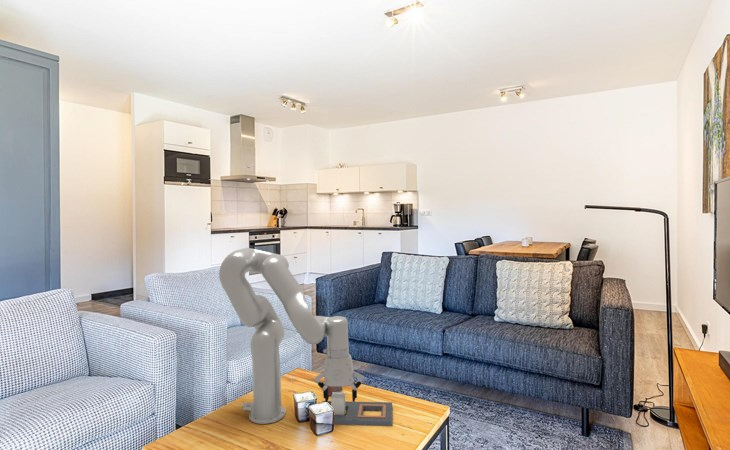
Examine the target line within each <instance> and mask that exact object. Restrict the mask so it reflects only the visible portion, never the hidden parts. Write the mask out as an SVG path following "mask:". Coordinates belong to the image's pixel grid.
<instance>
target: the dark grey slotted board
mask: <svg viewBox="0 0 730 450" xmlns="http://www.w3.org/2000/svg"><path fill="white" fill-rule="evenodd" d="M322 402H325V400H322V401H321V403H322ZM327 402H328V403H329V404H330V405H331V400H328V401H327ZM345 411H347V412H346V414H345V415H334V424H333V425H337V426H338V425H340V426H341V425H343V426H374V427H375V426H385V427H393V402H390V401H389V402H388V401H387V402H385V401H384V402H383V401H355V402H353V401H346V400H345ZM364 412H381V413H380V415H369V414H368V415H365V414H364Z"/></svg>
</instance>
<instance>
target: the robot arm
mask: <svg viewBox="0 0 730 450" xmlns="http://www.w3.org/2000/svg"><path fill="white" fill-rule="evenodd" d="M289 264H290V263H289V262H288V260H287V258H286V257H285V256H283V255H281V254H278V253H276V252H275V253H273V252H269V251H264V250H260V249H257V248H256V249H255V248H251V247H250V248H249V247H245V248H241V249H237V250H234V251H232V252H231V253H229V254H227V256H226V257H225V258H224V260H223V261H222V262H221V265H220V267H219V271H218V272H219V273H218V274H219V275H218V278H219V281H220V285H221V286H222V289H223V290H224V292H225V294H226V296H227V297H228V299H229V301H230V303H231V305H232V307H233V309H234V311H235V312H236V315H237V317H238V319H239V321H240V322H241V323H242V324H243V326H245V327H247V328H254V329H255V332H254V333H253V335H252V336H251V340H250V354H251V363H252V390H253V391H252V392H253V393H252V395H253V396H252V397H253V399H252V401H251V402H242V405H241V408H242V410H243V412H248V411H249V413H248V418H249V421H250V422H253V423H254V424H258V425H259V424H260V425H265V424H273V423H276V422H278V421H280V420H282V419H283V418H284V417H285V416H286V411H287V410H286V408H285V407H284V406H283V405H282V388H281V387H282V385H281V384H282V383H281V381H282V378H281V357H280V346H281V345H280V344H281V343H282V341H283V339H284V337H285V328H284V326H283V324H282V322H281V320H280V318H279V316H278V314H277V313H276V310H275V308H274V307H273V305H272V303H271V302H270V301H269V299H268V298H267V297H265V296H263V295H261V294H256V293H255V291H254V289H253V287H252V285H251V283H250V282H249V281H248V280H247V278H246V273H249V272H252V273H257V274H260V275H262V277H263V278H264V280H265V281H266V283H267V284H268V285H269V286H270V288H271V290H272V291H273V292H274V293H275V295H276V297H277V298H278V299H279V301H280V302H281V304H282V307H283V309H284V311H285V313H286V314H287V317H288V319H289V320H290V322H291V324H292V326H293V327H294V328H295V330H296V331H297V333H298V334H299V335H300V338H302V339H303V340H304V341H305V342H306V343H307V344H310V345H313V346H314V345H317V344H319V343H321V342H322V341H323V340H324V338H325V337H326V345H327V348H324V349H322V350H323V354H326V356H325V358H324V359H325V360H324V370H323V371H324V372H321V373H320V374H317V375H316V376H315V378H314V379H315V382H316V384H317V385H318V387H319V388H320V389H321V390H322V393H323V396H322V397H323V399H324V401H325V402H327V401H329V399H330V398H329V397H330V396H329V395H328V386H329V387H342V388H343V387H351V388H352V390H351V395H352V396H351V397H352V399H351V400H352V401H351V402H356V399H357V398H358V393H357V392H358V391H357V390H358V389H359V387H360V386H361V385H362V382H363V381H364V378H365V376H364V375H363V374H361V373H359V372H357V371H355V370H354V366H353V365H354V364H353V358H352V354H350V346H349V326H348V325H349V323H348V319H347V317H345V316H340V315H335V316H323V315H313V313H312V311H311V310H310V308H309V306H308V304H307V301H306V297H305V291H304V289H303V287H302V286H301V284H300V283H299V282H298V280H297V279H296V278H295V276H294V275H293V274H292V272H291V271H290V269H289V266H290V265H289ZM355 378H357V379H358V381H355V380H354V379H355ZM321 379H324V382H323V381H322V380H321Z"/></svg>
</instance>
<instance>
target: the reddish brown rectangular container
mask: <svg viewBox="0 0 730 450" xmlns="http://www.w3.org/2000/svg"><path fill="white" fill-rule="evenodd" d="M342 391H343V387H329V386H328V395H329V397H331V396H332V393H333V392H342Z"/></svg>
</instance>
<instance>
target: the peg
mask: <svg viewBox="0 0 730 450" xmlns="http://www.w3.org/2000/svg"><path fill="white" fill-rule="evenodd" d="M330 401H331V406H332V407H333V408H334V410H335V415H346V410H345V401H346V392H345V391H344V392H342V391H341V392H333V393H332V396H330Z"/></svg>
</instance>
